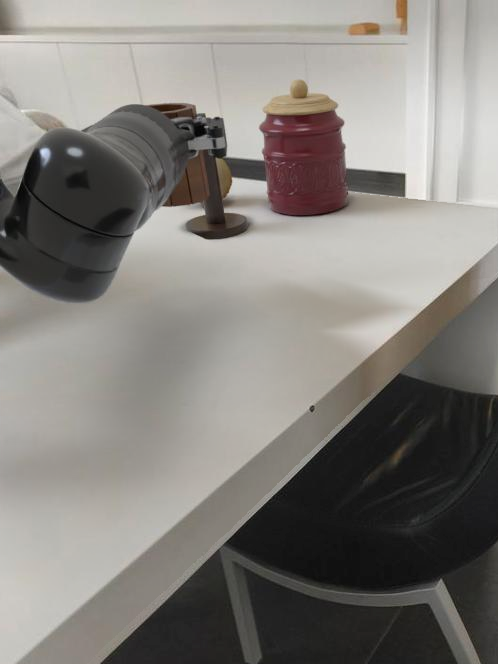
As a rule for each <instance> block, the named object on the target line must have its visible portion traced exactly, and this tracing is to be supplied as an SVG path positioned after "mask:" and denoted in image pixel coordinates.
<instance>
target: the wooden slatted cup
mask: <svg viewBox="0 0 498 664" xmlns="http://www.w3.org/2000/svg"><path fill="white" fill-rule="evenodd" d="M145 105H146V106H149V107H152V108H154V109H156V110H158V111H160V112H161V113H163V114H164V115H165V116H167V117H168V118H169V119H173V118H176V117H191V118H192V119H193V118H195V117H196V116H197V114H198V111H197V107H196V104H192V103H188V102H164V103H152V104H145ZM177 128H179V127H177ZM195 136H196V135H195ZM209 195H210V192H209V186H208V180H207V174H206V168H205V162H204V155H203V150H199V151H198V155H197V156H196V157H193V158H190V159H188V160H187V165H186V169H185V172H184V175H183V177H182V179H181V181H180V182H179V184H178V185H177V186H176V188H175V189H174V191H173V192H172V194H171V195H170V196H169V198H168V199H167V201H166V202H165V203H164V204H163V205H162V206H161V207H162V208H163V207H164V208H167V207H168V208H172V207H173V208H175V207H182V206H190V205H195V204H198V203H199V202H201V201H204V200H206V199H207V198H208V197H209Z"/></svg>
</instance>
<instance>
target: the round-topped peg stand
mask: <svg viewBox="0 0 498 664" xmlns="http://www.w3.org/2000/svg"><path fill="white" fill-rule="evenodd" d="M203 155H204V162H205V168H206V174H207V180H208V186H209V192H210V195H209V197H208V198H207V199H206V200H204V201H203V209H204V214H202V215H198V216H196V217H193V218H191V219H189V220H187V221H186V222H185V230H186V231H188V232H190V233H192V234H194V235H196V236H198V237H200V238H202V239H204V240H217V239H224V238H229V237H234V236H237V235H240V234H242V233H244V232H245V231H247V230H248V227H249V225H248V218H247V217H246V216H245V215H243V214H240V213H235V212H225V208H224V202H223V201H224V200H223V199H222V194H221V187H220V181H219V174H218V168H217V162H216V158H214V157H213V155H209V152H208V149H205V150H203Z"/></svg>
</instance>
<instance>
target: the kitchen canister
mask: <svg viewBox="0 0 498 664" xmlns="http://www.w3.org/2000/svg"><path fill="white" fill-rule="evenodd" d="M289 93H290V94H282V95H278V96H274V97H272V98H271V99H270V101H269V102H268V103H267V104H266V105H264V106H263V107H262V112H263V113H264V114H265V118H264V120H263V121H262V122H261V123H260V124H259V126H258V129H259V131H260V132H261V133H262V135H263V148H262V149H261V153H262V155H263V165H264V171H265V179H266V181H265V182H266V195H267V201H268V203H269V208H270V209H271V211H273V212H276V213H278V214H282V215H289V216H313V215H321V214H322V215H323V214H326V213H331V212H335V211H337V210H340V209H342V208H344V207H345V206H346V205H347V203H348V197H349V185H348V183H347V182H348V181H347V180H348V179H347V164H346V163H347V161H346V148H347V145H346V144H345V142H344V141H343V133H342V129H343V128H344V126H345V124H346V122H345V120H344V119H343V118H342V117H341V116H340V115H338V113H337V111H336V110H337V109H338V108H339V103H338V102H336V101H335V100H333V99H331V97H329V95H328V94H325V93H324V94H323V93H317V92H316V93H315V92H313V93H311V92H310V93H309V89H308V85H307V83H306V81H305V80H303V79H299V78H297V79H294V80H292V81H291V83H290V86H289Z"/></svg>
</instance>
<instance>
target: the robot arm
mask: <svg viewBox="0 0 498 664" xmlns="http://www.w3.org/2000/svg"><path fill="white" fill-rule="evenodd" d="M146 105H147V104H141V103H140V104H139V103H133V104H125V105H122V106H119V107H118V108H116V109H115V110H113V111H111V112H110V113H109V114H107V115H105V116H104V117H102V118H101V119H100V120H98V121H97V122H94V124H91V125H88V126H86V127H85V128H83V129H81V130H79V129H76V128H71V127H66V126H65V127H64V126H58V127H53V128H50V129H49V130H47V131H46V132H44V133H43V134H42V136H41V137H40V138H38V140H37V141H36V143H35V144H34V145H33V148H32V149H31V152H30V153H29V155H28V158H27V161H26V164H25V166H24V170H23V173H22V176H21V178H20V182H19V185H18V188H17V190H16V193H15V195H14V194H13V192H12V191H11V190H10V189H9V187H8V186H7V185H6V183H5V181H4V180H3V178H2V174H0V268H1V269H2V270H3V271H4V272H6V273H7V274H8V275H9V276H11V277H12V278H13V279H14V280H16V281H17V282H18V283H20V284H21V285H23V286H24V287H26V288H27V289H29V290H31V291H32V292H33V293H36V294H37V295H40V296H42V297H44V298H47V299H49V300H52V301H55V302H60V303H63V304H74V305H76V304H77V305H78V304H79V305H80V304H88V303H92V302H94V301H97V300H99V299H100V298H102V297H103V296H104V295H105V294H106V293H107V292H108V290H109V289H110V287H111V285H112V283H113V281H114V279H115V277H116V274H117V272H118V270H119V268H120V266H121V262H122V261H123V258H124V256H125V254H126V252H127V250H128V247H129V245H130V243H131V241H132V239H133V237H134V234H135V232H136V231H138V230H140V229H141V228H142V227H143V226H144V225H146V223H147V222H148V221H149V220H150V219H151V218H152V216H153V215H154V213H155V212H156V211H158V210H159V209H161V207H162V205H163V204H164V203H165V202H166V201H167V199H168V198H169V196H170V195H171V194H172V192H173V191H174V189H175V188H176V186H177V185H178V184H179V182H180V181H181V179H182V177H183V175H184V172H185V169H186V165H187V160H188V159H190V158H193V157H196V156H197V155H198V151H199V150H205V149H208V152H209V155H213V157H214V158H218V159H221V158H222V159H223V158H226V157H227V155H228V153H227V152H228V141H227V133H226V128H225V120H224V118H223V117H220V116H214V118H212V117H207V115H206V112H200V113H199V112H197V116H196V117H195V118H193V119H192V118H191V117H176V118H173V119H169V118H168V117H167V116H165V115H164V114H163V113H161V112H160V111H158V110H156V109H154V108H152V107H149V106H146ZM177 127H179V128H177ZM195 135H196V136H195Z"/></svg>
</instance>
